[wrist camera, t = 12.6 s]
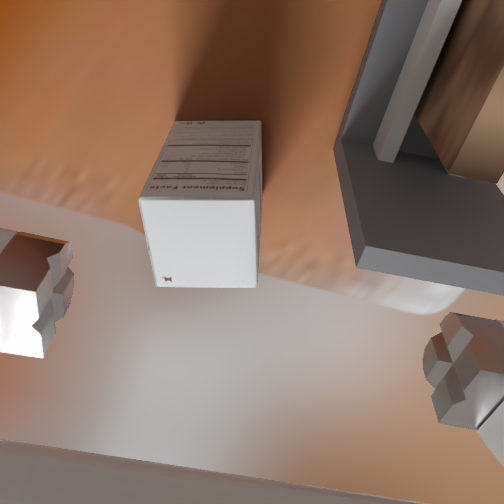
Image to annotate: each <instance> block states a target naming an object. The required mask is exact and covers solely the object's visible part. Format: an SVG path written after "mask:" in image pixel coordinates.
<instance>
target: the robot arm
mask: <svg viewBox="0 0 504 504" xmlns="http://www.w3.org/2000/svg"><path fill="white" fill-rule="evenodd" d="M72 259H73V250H72V244H71V243H70V242H68V241H63V240H59V239H54V238H49V237H44V236H39V235H34V234H29V233H25V232H17V231H13V230H8V229H3V228H0V352H5V353H13V354H19V355H26V356H34V357H42V358H43V357H44V355H45V353H46V351H47V349H48V347H49V345H50V343H51V341H52V339H53V338H54V336H55V334H56V326H55V322H56V321H57V320H59V319H61V318H63V317H64V316H65V314H66V312H67V309H68V308H69V305H70V302H71V298H72V295H73V288H74V273H73V272H72V271H71V270H70V268H69V267H68V266H69V264H70V262H71V260H72ZM440 327H441V331H442V332H441V333H440V334H437V335H435V336H434V337H432V338H431V339H430V340H429V342H428V344H427V345H426V348H425V350H424V356H423V370H424V374H425V378H426V380H427V381H428V382H429V383H430V384H431V385H432V386H433V387H434V388H435V390H434V391H433V393H432V395H431V398H432V402H433V405H434V408H435V412H436V415H437V418H438V422H439V423H442V424H446V425H452V426H457V427H462V428H468V429H473V430H477V431H476V433H477V434H478V435H479V436H480V438H481V439H482V440H483V442H484V443H485V444H486V445H487V446H488V448H489V449H490V450H491V451H492V453H493V454H494V455H495V457H496V458H497V459H498V460H499V462H500V463H501V464H502V465H503V467H504V321H500V320H491V319H485V318H480V317H474V316H469V315H463V314H458V313H451V312H450V313H449V314H448V315H446V316H445V317H444V319H443V320H442V322H441V323H440ZM0 504H428V503H422V502H415V501H409V500H402V499H395V498H388V497H381V496H375V495H368V494H361V493H355V492H348V491H341V490H335V489H328V488H321V487H314V486H308V485H301V484H295V483H288V482H281V481H275V480H268V479H261V478H254V477H248V476H242V475H235V474H228V473H222V472H215V471H208V470H202V469H195V468H189V467H182V466H175V465H169V464H162V463H155V462H149V461H142V460H135V459H128V458H122V457H115V456H108V455H102V454H95V453H88V452H82V451H76V450H69V449H62V448H56V447H49V446H42V445H36V444H29V443H22V442H16V441H9V440H2V439H0Z"/></svg>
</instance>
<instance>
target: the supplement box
mask: <svg viewBox="0 0 504 504" xmlns="http://www.w3.org/2000/svg"><path fill="white" fill-rule="evenodd" d="M262 201H263V193H262V144H261V121H175V122H174V124H173V126H172V128H171V130H170V132H169V135H168V137H167V139H166V141H165V143H164V145H163V147H162V150H161V152H160V154H159V156H158V158H157V160H156V162H155V164H154V166H153V168H152V171H151V173H150V175H149V177H148V179H147V181H146V183H145V186H144V188H143V190H142V192H141V194H140V196H139V205H140V211H141V215H142V220H143V225H144V230H145V234H146V240H147V246H148V251H149V254H150V259H151V264H152V268H153V274H154V278H155V285H156V286H163V287H222V288H223V287H224V288H225V287H226V288H232V287H233V288H250V287H251V288H252V287H257V283H258V267H259V249H260V233H261V217H262Z"/></svg>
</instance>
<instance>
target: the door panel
mask: <svg viewBox="0 0 504 504" xmlns="http://www.w3.org/2000/svg"><path fill="white" fill-rule="evenodd" d="M414 115H415V117H416V118H417V120H418V122H419V123H420V125H421V127H422V129H423V130H424V132H425V134H426V136H427V137H428V139H429V141H430V143H431V144H432V146H433V148H434V149H435V151H436V153H437V155H438V156H439V158H440V160H441V162H442V163H443V165H444V167H445V168H446V170H447V172H448V174H453V175H458V176H463V177H468V178H472V179H477V180H482V181H487V182H492V183H496V184H497V183H498V181H499V179H500V177H501V176H502V174H503V172H504V0H462V2H461V4H460V7H459V9H458V11H457V14H456V16H455V18H454V21H453V23H452V25H451V28H450V30H449V33H448V35H447V37H446V40H445V42H444V44H443V47H442V49H441V51H440V54H439V56H438V58H437V61H436V63H435V66H434V68H433V70H432V73H431V75H430V77H429V80H428V82H427V84H426V87H425V89H424V91H423V94H422V96H421V99H420V101H419V103H418V106H417V108H416V110H415V113H414Z"/></svg>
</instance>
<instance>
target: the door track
mask: <svg viewBox="0 0 504 504" xmlns="http://www.w3.org/2000/svg"><path fill="white" fill-rule="evenodd" d="M461 2H462V0H382V2H381V6H380V9H379V12H378V15H377V18H376V21H375V24H374V27H373V30H372V33H371V36H370V39H369V42H368V45H367V48H366V51H365V54H364V57H363V60H362V63H361V66H360V69H359V72H358V75H357V78H356V81H355V84H354V87H353V90H352V93H351V96H350V99H349V102H348V105H347V108H346V111H345V115H344V118H343V121H342V124H341V127H340V130H339V133H338V136H337V139H336V142H335V145H334V148H333V150H334V155H335V161H336V166H337V171H338V176H339V181H340V186H341V191H342V197H343V202H344V207H345V212H346V217H347V222H348V227H349V233H350V238H351V243H352V248H353V253H354V258H355V264H356V268H361V269H366V270H371V271H377V272H382V273H387V274H393V275H398V276H403V277H409V278H414V279H419V280H424V281H430V282H435V283H440V284H446V285H451V286H456V287H462V288H467V289H472V290H478V291H483V292H488V293H494V294H499V295H504V195H503V194H502V192H501V191H500V189H499V188H498V187H497V185H496V184H495V183H492V182H487V181H482V180H477V179H472V178H468V177H463V176H458V175H453V174H448V172H447V170H446V168H445V167H444V165H443V163H442V162H441V160H440V158H439V156H438V155H437V153H436V151H435V149H434V148H433V146H432V144H431V143H430V141H429V139H428V137H427V136H426V134H425V132H424V130H423V129H422V127H421V125H420V123H419V122H418V120H417V118H416V117H415V115H414V113H415V110H416V108H417V106H418V103H419V101H420V99H421V96H422V94H423V91H424V89H425V87H426V84H427V82H428V80H429V77H430V75H431V73H432V70H433V68H434V66H435V63H436V61H437V58H438V56H439V54H440V51H441V49H442V47H443V44H444V42H445V40H446V37H447V35H448V33H449V30H450V28H451V25H452V23H453V21H454V18H455V16H456V14H457V11H458V9H459V7H460V4H461Z"/></svg>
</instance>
